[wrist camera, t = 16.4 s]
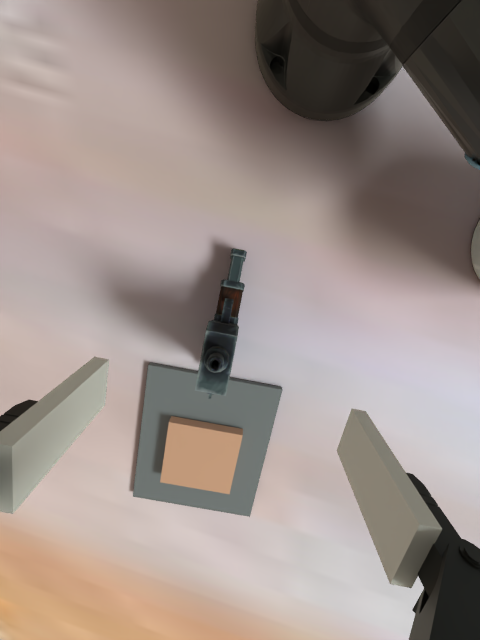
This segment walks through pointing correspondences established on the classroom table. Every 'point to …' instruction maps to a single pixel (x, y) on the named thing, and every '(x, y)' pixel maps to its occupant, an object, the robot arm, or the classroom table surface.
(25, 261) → the classroom table surface
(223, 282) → the gun
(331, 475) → the classroom table surface
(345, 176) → the classroom table surface
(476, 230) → the utensil holder
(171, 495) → the mat
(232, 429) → the tile
